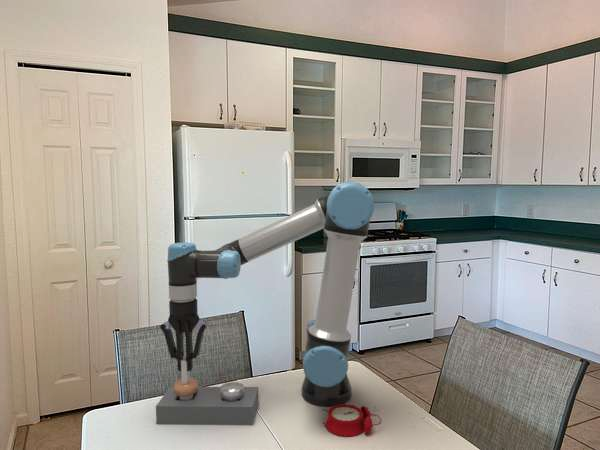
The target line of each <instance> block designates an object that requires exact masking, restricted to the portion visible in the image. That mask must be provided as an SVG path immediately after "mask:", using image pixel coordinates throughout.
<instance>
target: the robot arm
mask: <svg viewBox="0 0 600 450" xmlns="http://www.w3.org/2000/svg"><path fill="white" fill-rule="evenodd" d="M374 211H375V202H374V197H373V195H372V193H371V192H370V190H369V189H368V187H366V186H365V185H363V184H361V183H360V182H355V181H344V182H342V183H339V184H338V185H336V186H335V187H334V188H333V189H332V190H331V191H329V192H328V193H326V194H324V195H323V196H321V197H319V198H317V199H316V200H315V203H313V204H312V205H309V206H307V207H305V208H303V209H301V210H299V211H297V212H294V213H292V214H290V215H288V216H285V217H284V218H281V219H280V220H276V221H275V222H273V223H270V224H268V225H266V226H264V227H261V228H260V229H257V230H255V231H253V232H250V233H249V234H246V235H244V236H242V237H240V238H238V239H235V240H233V241H231V242H229V243H225V244H224V245H222V246H220V247H219V248H217V249H214V250H199V249H197V245H196V244H195V243H194V242H185V241H184V242H174V243H171V244H170V245H169V246H168V247H167V261H166V262H167V271H168V272H167V273H168V274H167V275H168V276H167V277H168V299H169V301H168V309H169V316H168V318H167V321H164V322H163V323H162V324H161V325H160V326H159V328H160V330H161V331H162V332H163V333H164V338H165V341H166V345H167V349H168V353H169V355H170V356H169V357H170V358H171V359H175V360H177V370H178V372H180V373H181V375H180V376H181V378H180V379H182V384H187V383H188V382H189V380H190V378H191V377H190V372H191V371H192V370H193V368H194V364H193V359H196V358H197V357H198V356H199V355H200V351H201V348H202V342H203V338H204V333H205V330H206V328H207V327H208V322H203V321H202V320H200V316H199V314H198V299H197V297H198V284H197V283H198V281H197V280H198V279H202V278H203V279H224V280H225V279H227V280H228V279H235V278H238V277H239V275H240V272H241V266H243V265H245V264H247V263H249V262H251V261H253V260H256V259H258V258H260V257H263V256H264V255H267V254H269V253H271V252H273V251H276V250H279V249H280V248H282V247H286V245H289V244H291V243H295V242H296V241H298V240H301V239H303V238H305V237H307V236H310V235H311V234H314V233H316V232H318V231H321V230H322V229H323V231H324V233H325V234H326V235H327V237H328V238H327V243H326V244H327V245H326V251H325V257H324V263H323V270H322V278H321V282H320V288H319V296H318V301H317V309H316V316H315V319H312V320H309V321H308V322H307V323H306V330H305V331H306V343H305V349H304V355H303V358H302V369H303V372H304V379H303V382H302V385H301V397H302V399H304V400H305V401H306V402H307V403H309V404H311V405H316V406H320V407H321V406H322V407H333V406H335V405H339V404H345V403H347V402H348V401H350V400H351V398H352V386H351V382H350V379H349V377H348V374H347V373H348V370H349V362H348V358H349V351H350V346H351V339H352V334H351V333H350V332H349V330H348V329H347V328H348V322H349V315H350V310H351V304H352V297H353V290H354V284H355V279H356V272H357V267H358V260H359V254H360V248H361V242H362V241H364V240H365V239H367V238H368V235H369V228H370V222H371V218H372V217H373V214H374ZM196 326H197V329H198V330H197V334H196V339H195V343H194V344H193V333H194V331H193V330H194V329H195V328H196ZM171 327H172V328H171ZM172 329H173V330H174V332H175V339H176V341H175V339H174V336H173V332H172ZM184 337H185V346H184ZM193 346H194V347H193ZM184 347H185V348H184ZM184 352H185V353H184ZM184 356H185V357H184Z"/></svg>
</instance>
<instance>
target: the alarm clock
mask: <svg viewBox="0 0 600 450" xmlns="http://www.w3.org/2000/svg"><path fill="white" fill-rule="evenodd" d="M322 411H326V412H327V420H326V421H325V422H322V424H323V425H324V428H325V429H326V430H327V431H328V432H330V433H331V434H333V435H334V436H335V435H336V436H338V437H344V438H345V437H347V438H349V437H356V436H359V435H361V434H363V432H364V434H365V435H370V434H371V432H372V430H373V428H374V427H375V426H378V425H380V424H382V419H381V417H380V416H379V415H377V414H373V413H371V412H370V410H369V408H368V407H367V406H365V405H361V407H360V408H359V407H358V406H356V405H353V404H349V403H348V404H347V403H346V404H345V403H343V404H339V405H335V406H330V408H329V409H324V408H322ZM371 416H376V417H378V418H379V423H376V424H375V423H373V420H372V417H371Z"/></svg>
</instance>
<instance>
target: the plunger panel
mask: <svg viewBox="0 0 600 450" xmlns="http://www.w3.org/2000/svg"><path fill="white" fill-rule="evenodd" d="M259 400H260V399H259V387H258V386H244V396H243V397H242V398H240V399H239V401H226V400H223V399H222V398H221V386H198V391H197V392H196V393H195V394H193V400H180V396H178V395H176V394H175V393H174V386H169V387H168V389H167V391H166V392H165V393H164V395H162V397H161V399H160V400H159V401H158V402H157V404H156V405H155V417H156V418H155V420H156V425H200V426H201V425H204V426H205V425H207V426H208V425H214V426H215V425H216V426H218V425H222V426H223V425H224V426H228V425H229V426H253V425H254V422H255V418H256V414H257V410H258V408H259V403H260V402H259Z"/></svg>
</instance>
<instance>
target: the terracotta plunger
mask: <svg viewBox="0 0 600 450" xmlns="http://www.w3.org/2000/svg"><path fill="white" fill-rule="evenodd" d="M198 384H199V383H198V379H196V378H193V377H190V380H189V382H188V383H187V384H182V378H180V379H177V380H176V381H175V382H174V383H173V387H174V393H175V394H176V395H178V396H180V400H193V394H195V393H196V392H197V391H198V387H199V385H198Z"/></svg>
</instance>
